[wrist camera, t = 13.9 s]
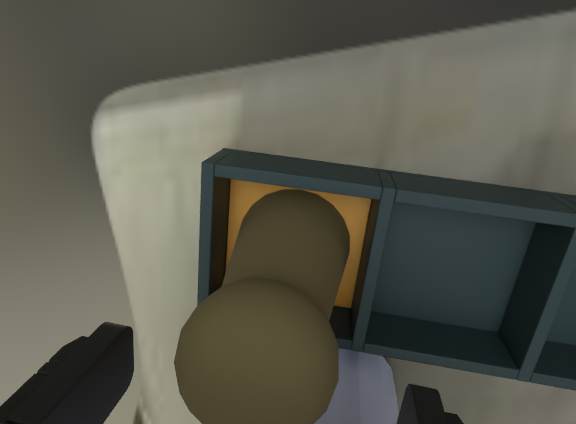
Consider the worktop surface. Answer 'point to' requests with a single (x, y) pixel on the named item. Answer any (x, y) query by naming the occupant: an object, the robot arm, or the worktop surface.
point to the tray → (423, 262)
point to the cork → (269, 318)
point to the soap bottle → (362, 391)
